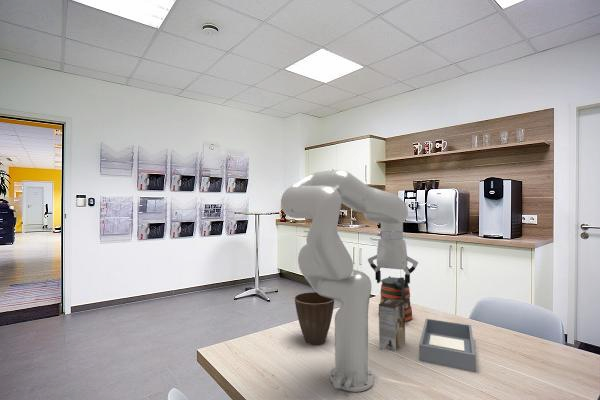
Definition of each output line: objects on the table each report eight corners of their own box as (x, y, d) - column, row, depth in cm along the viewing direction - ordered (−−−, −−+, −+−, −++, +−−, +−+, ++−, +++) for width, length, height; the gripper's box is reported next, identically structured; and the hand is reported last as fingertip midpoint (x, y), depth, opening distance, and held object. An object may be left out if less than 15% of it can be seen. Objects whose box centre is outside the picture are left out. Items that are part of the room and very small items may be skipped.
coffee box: (388, 340, 116) (388, 297, 116) (405, 345, 112) (405, 300, 112) (378, 349, 108) (378, 303, 109) (396, 355, 105) (396, 307, 105)
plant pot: (289, 347, 110) (289, 302, 111) (299, 330, 125) (299, 290, 125) (331, 351, 107) (331, 305, 107) (337, 334, 121) (336, 293, 122)
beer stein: (423, 326, 130) (423, 277, 130) (389, 327, 128) (389, 278, 128) (403, 310, 149) (403, 268, 149) (374, 311, 147) (374, 269, 147)
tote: (475, 375, 92) (475, 355, 92) (419, 363, 99) (419, 344, 99) (471, 341, 115) (471, 325, 115) (425, 333, 122) (425, 318, 122)
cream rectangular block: (464, 367, 95) (464, 350, 95) (429, 360, 99) (429, 344, 99) (463, 355, 102) (463, 340, 102) (430, 349, 106) (430, 334, 106)
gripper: (365, 235, 111) (365, 283, 111) (416, 237, 104) (417, 289, 104) (370, 233, 118) (370, 278, 118) (418, 235, 110) (419, 283, 110)
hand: (392, 283), depth 111 cm, fingers open, 9 cm apart
